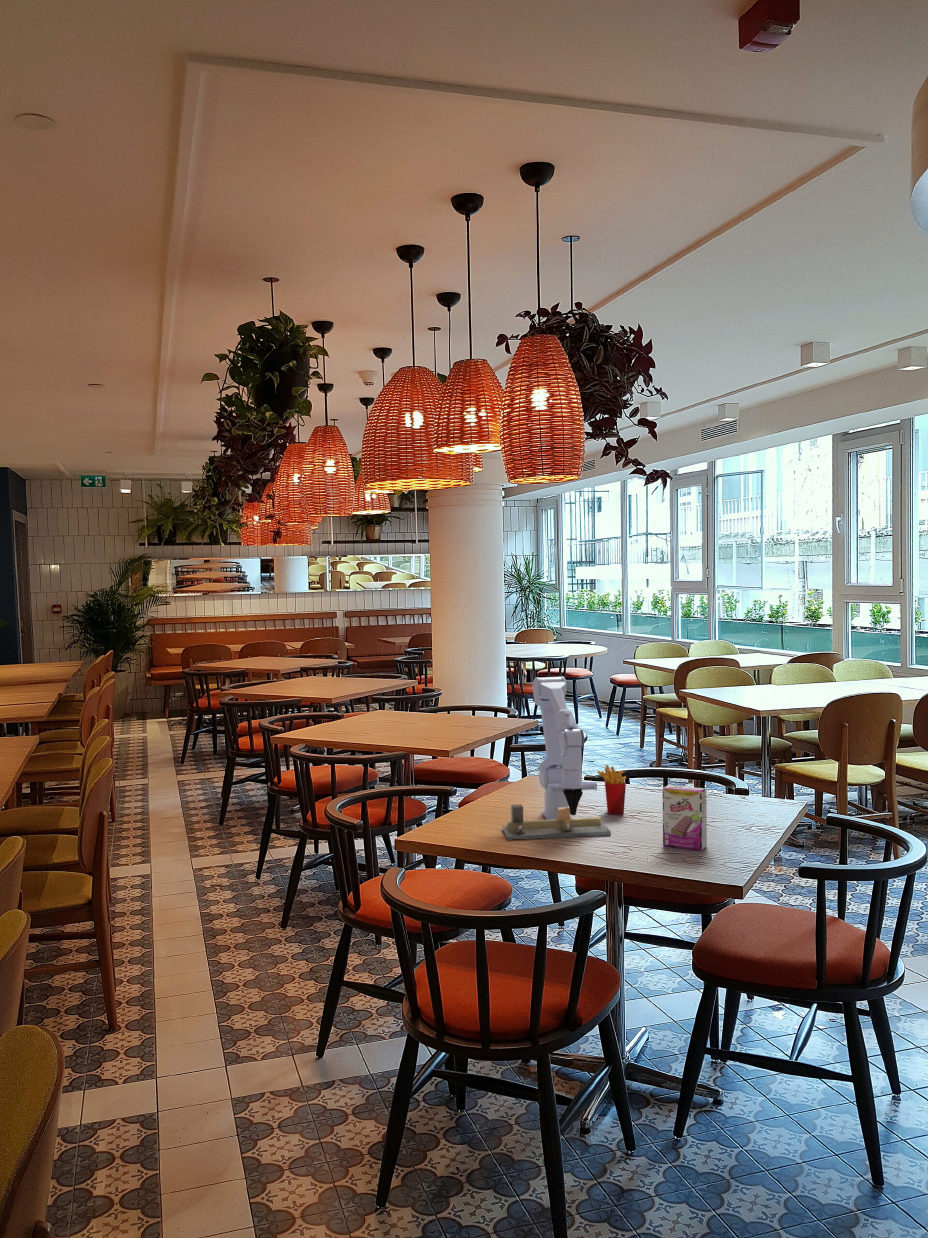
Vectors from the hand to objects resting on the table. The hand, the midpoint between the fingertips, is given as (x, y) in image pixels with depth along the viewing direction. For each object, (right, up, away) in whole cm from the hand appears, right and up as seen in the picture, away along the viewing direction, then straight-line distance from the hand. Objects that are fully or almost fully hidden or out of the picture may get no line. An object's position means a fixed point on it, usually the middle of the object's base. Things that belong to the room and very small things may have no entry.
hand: (572, 814), depth 283 cm
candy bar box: (+28, -5, -21) cm, 36 cm away
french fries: (+15, -4, +19) cm, 24 cm away
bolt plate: (-5, -5, -3) cm, 8 cm away
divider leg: (-3, -3, -3) cm, 5 cm away
